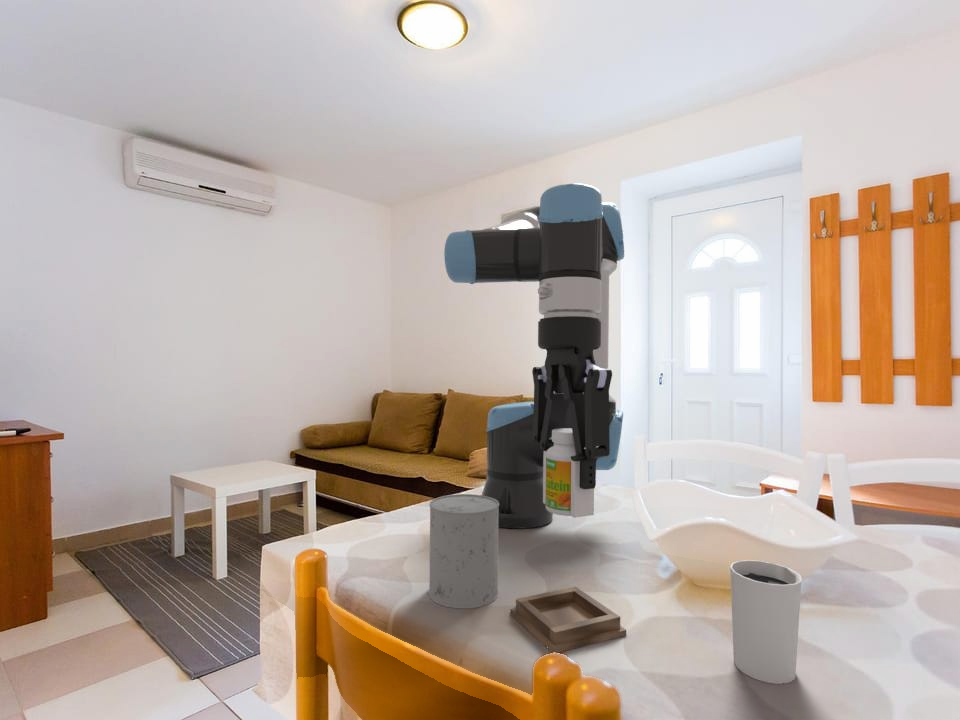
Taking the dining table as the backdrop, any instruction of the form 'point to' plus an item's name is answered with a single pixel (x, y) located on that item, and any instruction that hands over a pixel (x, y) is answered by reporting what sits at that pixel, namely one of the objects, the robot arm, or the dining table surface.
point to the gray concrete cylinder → (463, 550)
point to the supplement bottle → (559, 472)
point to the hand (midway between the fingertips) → (567, 508)
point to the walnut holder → (567, 619)
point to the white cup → (765, 619)
